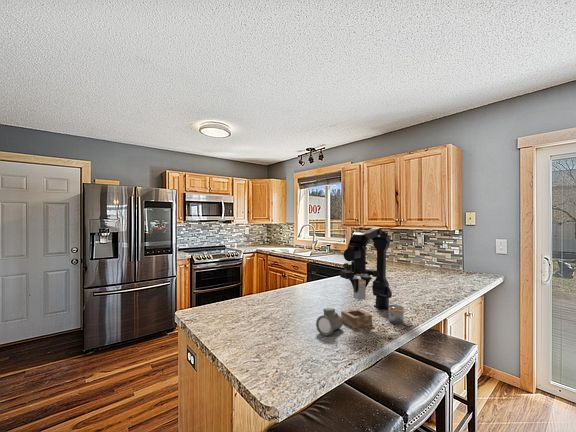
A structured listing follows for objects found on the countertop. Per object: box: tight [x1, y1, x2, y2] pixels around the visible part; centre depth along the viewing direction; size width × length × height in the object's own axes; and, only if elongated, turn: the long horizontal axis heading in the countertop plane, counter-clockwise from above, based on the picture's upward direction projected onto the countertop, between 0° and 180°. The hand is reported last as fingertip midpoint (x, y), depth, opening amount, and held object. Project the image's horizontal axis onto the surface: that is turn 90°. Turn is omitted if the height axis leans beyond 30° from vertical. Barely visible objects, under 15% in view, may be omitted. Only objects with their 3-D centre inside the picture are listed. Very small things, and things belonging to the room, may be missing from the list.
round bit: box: [388, 304, 405, 326], centre depth 131 cm, size 7×7×7 cm
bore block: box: [340, 308, 373, 329], centre depth 130 cm, size 10×10×4 cm
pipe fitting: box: [315, 307, 344, 337], centre depth 120 cm, size 12×8×10 cm
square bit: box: [352, 278, 367, 301], centre depth 132 cm, size 4×4×9 cm
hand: (359, 292), depth 132 cm, fingers closed on square bit, 4 cm apart
